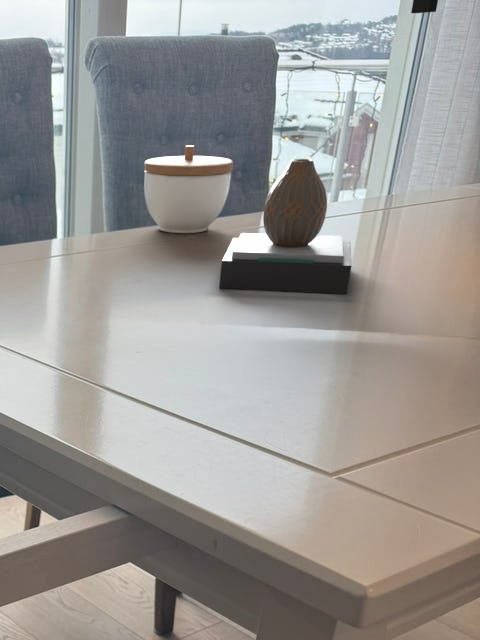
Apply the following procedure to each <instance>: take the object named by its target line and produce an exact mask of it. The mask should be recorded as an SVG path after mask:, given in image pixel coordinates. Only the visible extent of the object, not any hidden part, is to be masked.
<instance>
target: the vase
mask: <svg viewBox="0 0 480 640" xmlns="http://www.w3.org/2000/svg"><path fill="white" fill-rule="evenodd" d="M327 210H328V197H327V191H326V187H325V185H324V183H323V181H322V180H321V177H320V176H319V174H318V172H317V169H316V167H315V163H314V160H313V159H310V158H309V159H308V158H294V159H291V160H290V162H289V163H288V165H287V167H286V169H285V170H284V171H283V172H282V174H280V176H279V177H278V178H277V179H276V181H275V182H274V183H273V185H272V186H271V188H270V190H269V191H268V194H267V197H266V199H265V202H264V207H263V217H262V219H263V220H262V221H263V228H264V232H265V234H267V236H268V238H269V239H270V241H271V242H272V243H273V244H274V245H278V246H284V247H301V246H306V245H308V244H309V243H310V242H311V241H312V240H313V239H315V237H316V236H317V235H319V234H320V232H321V230H322V228H323V226H324V223H325V220H326V216H327Z"/></svg>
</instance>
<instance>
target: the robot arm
mask: <svg viewBox="0 0 480 640" xmlns="http://www.w3.org/2000/svg"><path fill="white" fill-rule="evenodd" d="M438 2H439V0H412V6H411V12H410V14H425V13H426V14H427V13H436V12H437V7H438Z"/></svg>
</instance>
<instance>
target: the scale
mask: <svg viewBox="0 0 480 640" xmlns="http://www.w3.org/2000/svg"><path fill="white" fill-rule="evenodd" d="M220 265H221V266H220V274H219V285H218V288H219V289H228V290H246V291H247V290H249V291H270V292H291V293H309V294H310V293H311V294H313V293H314V294H332V295H333V294H335V295H347V294H348V289H349V283H350V277H351V271H352V251H351V241H344V236H343V235H323V234H322V235H321V234H318V235H317V236H316V237H315V239H313V240H312V241H311V242H310V243H309V244H308V245H306V246H301V247H284V246H278V245H274V244H273V243H272V242H271V241H270V239H269V238H268V236H267V234H266V233H259V232H258V233H256V232H255V233H253V232H241V233H240V235H239V237H232V239H231V241H230V243H229V245H228V248H227V249H226V252H225V254H224V256H223V258H222V260H221V264H220Z"/></svg>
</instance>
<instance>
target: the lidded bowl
mask: <svg viewBox="0 0 480 640" xmlns="http://www.w3.org/2000/svg"><path fill="white" fill-rule="evenodd" d="M184 148H185V149H184V155H170V156H159V157H152V158H148V159H146V160H145V161H144V164H143V171H144V177H143V179H144V180H143V183H144V184H143V190H144V199H145V206H146V208H147V209H146V210H147V211H148V214H149V215H150V217H151V219H152V220H153V222H154V223H155V224H156V225H157V226H158V230H159V231H161V232H166V233H173V234H195V233H196V234H197V233H202V232H206V231H208V229H209V226H210V225H211V224H213V223H214V222H215V221H216V219H217V218H218V217H219V216H220V214H221V213H222V211H223V209H224V207H225V205H226V202H227V198H228V195H229V190H230V185H231V179H232V171H233V169H234V162H233V160H232V159H230V158H226V157H221V156H209V155H194V153H195V145H192V144H191V145H189V144H188V145H185V147H184Z"/></svg>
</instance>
